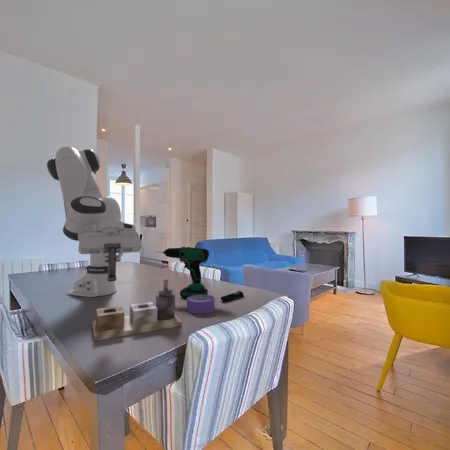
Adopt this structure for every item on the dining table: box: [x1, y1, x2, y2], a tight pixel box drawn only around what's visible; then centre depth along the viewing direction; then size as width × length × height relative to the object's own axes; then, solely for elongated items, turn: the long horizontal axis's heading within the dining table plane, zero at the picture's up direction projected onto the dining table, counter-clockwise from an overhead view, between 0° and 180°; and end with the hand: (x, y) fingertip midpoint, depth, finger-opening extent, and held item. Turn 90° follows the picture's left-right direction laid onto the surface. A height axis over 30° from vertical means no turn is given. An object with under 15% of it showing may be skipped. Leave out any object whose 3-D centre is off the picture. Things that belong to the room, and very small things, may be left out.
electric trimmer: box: [220, 290, 245, 302], centre depth 129 cm, size 4×16×3 cm, turn 139°
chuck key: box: [104, 243, 121, 282], centre depth 89 cm, size 5×3×13 cm, turn 118°
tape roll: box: [186, 294, 216, 315], centre depth 112 cm, size 12×12×5 cm
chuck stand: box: [92, 278, 183, 342], centre depth 93 cm, size 28×14×16 cm, turn 119°
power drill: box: [156, 246, 210, 299], centre depth 131 cm, size 6×29×25 cm, turn 79°
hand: (112, 261), depth 88 cm, fingers closed on chuck key, 2 cm apart
